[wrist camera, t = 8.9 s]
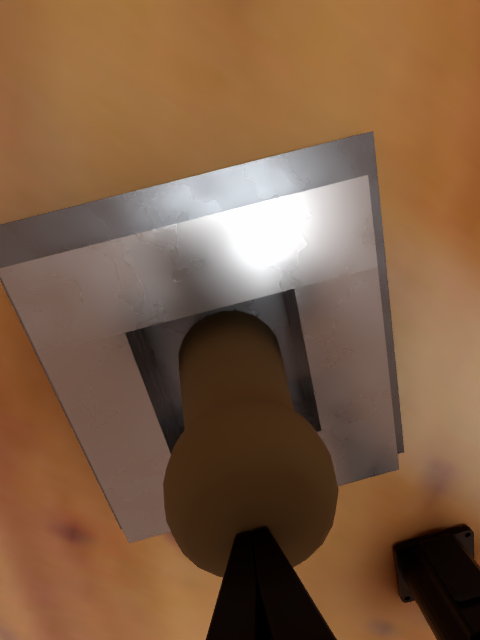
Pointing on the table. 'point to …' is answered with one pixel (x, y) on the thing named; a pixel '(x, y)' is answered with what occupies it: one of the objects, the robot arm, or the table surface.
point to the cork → (243, 448)
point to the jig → (213, 309)
